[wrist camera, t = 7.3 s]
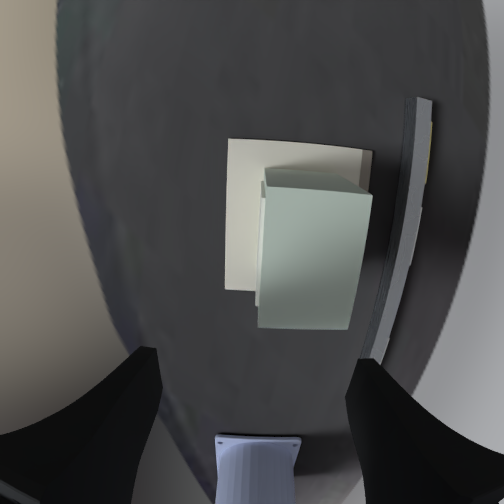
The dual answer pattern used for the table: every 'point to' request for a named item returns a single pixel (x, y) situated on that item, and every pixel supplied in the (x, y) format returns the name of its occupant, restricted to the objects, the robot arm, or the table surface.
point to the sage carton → (309, 249)
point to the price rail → (402, 224)
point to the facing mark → (249, 187)
